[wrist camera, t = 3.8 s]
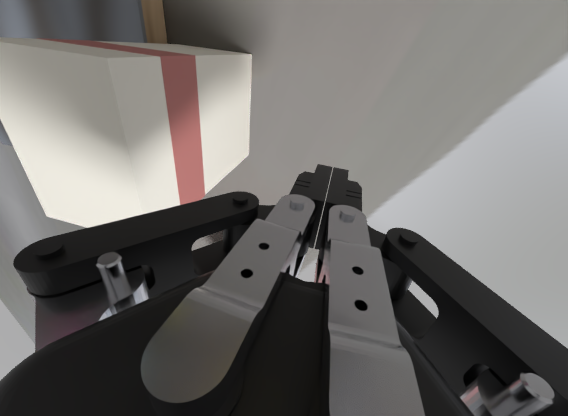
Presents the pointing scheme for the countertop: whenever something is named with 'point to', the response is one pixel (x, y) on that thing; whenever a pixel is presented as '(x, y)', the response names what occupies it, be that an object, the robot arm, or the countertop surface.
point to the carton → (123, 123)
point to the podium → (82, 23)
